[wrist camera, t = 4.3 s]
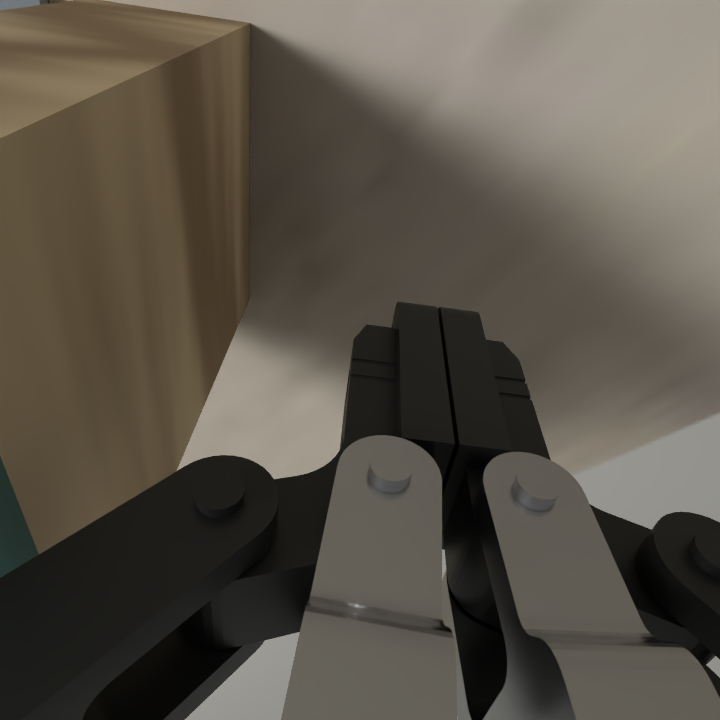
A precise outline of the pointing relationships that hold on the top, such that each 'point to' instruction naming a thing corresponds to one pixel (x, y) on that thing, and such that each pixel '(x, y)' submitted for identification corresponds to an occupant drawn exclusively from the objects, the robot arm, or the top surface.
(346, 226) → the top surface
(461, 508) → the robot arm
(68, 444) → the block
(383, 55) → the top surface
